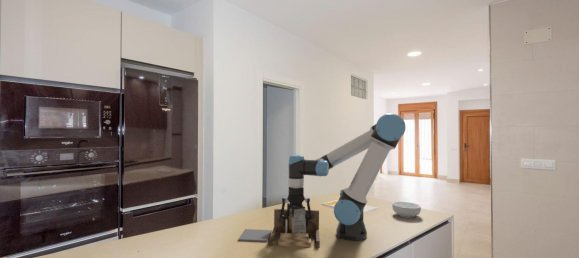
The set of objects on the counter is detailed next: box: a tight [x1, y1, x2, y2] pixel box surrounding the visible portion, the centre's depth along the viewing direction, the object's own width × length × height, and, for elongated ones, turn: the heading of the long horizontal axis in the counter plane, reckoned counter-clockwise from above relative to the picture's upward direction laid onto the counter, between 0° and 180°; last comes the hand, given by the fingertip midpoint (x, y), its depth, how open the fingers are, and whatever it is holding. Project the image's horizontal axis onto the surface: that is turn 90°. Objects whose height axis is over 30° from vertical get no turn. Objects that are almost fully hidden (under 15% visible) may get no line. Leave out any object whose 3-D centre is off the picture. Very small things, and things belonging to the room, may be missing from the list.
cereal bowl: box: [391, 201, 422, 219], centre depth 180 cm, size 17×17×7 cm
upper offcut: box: [279, 233, 310, 242], centre depth 133 cm, size 13×4×2 cm, turn 92°
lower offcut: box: [277, 237, 312, 247], centre depth 133 cm, size 15×4×2 cm, turn 88°
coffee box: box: [286, 202, 306, 233], centre depth 141 cm, size 9×6×16 cm
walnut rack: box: [268, 208, 321, 249], centre depth 139 cm, size 23×18×12 cm
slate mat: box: [237, 228, 273, 243], centre depth 143 cm, size 14×14×1 cm
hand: (295, 232), depth 141 cm, fingers closed on coffee box, 8 cm apart
